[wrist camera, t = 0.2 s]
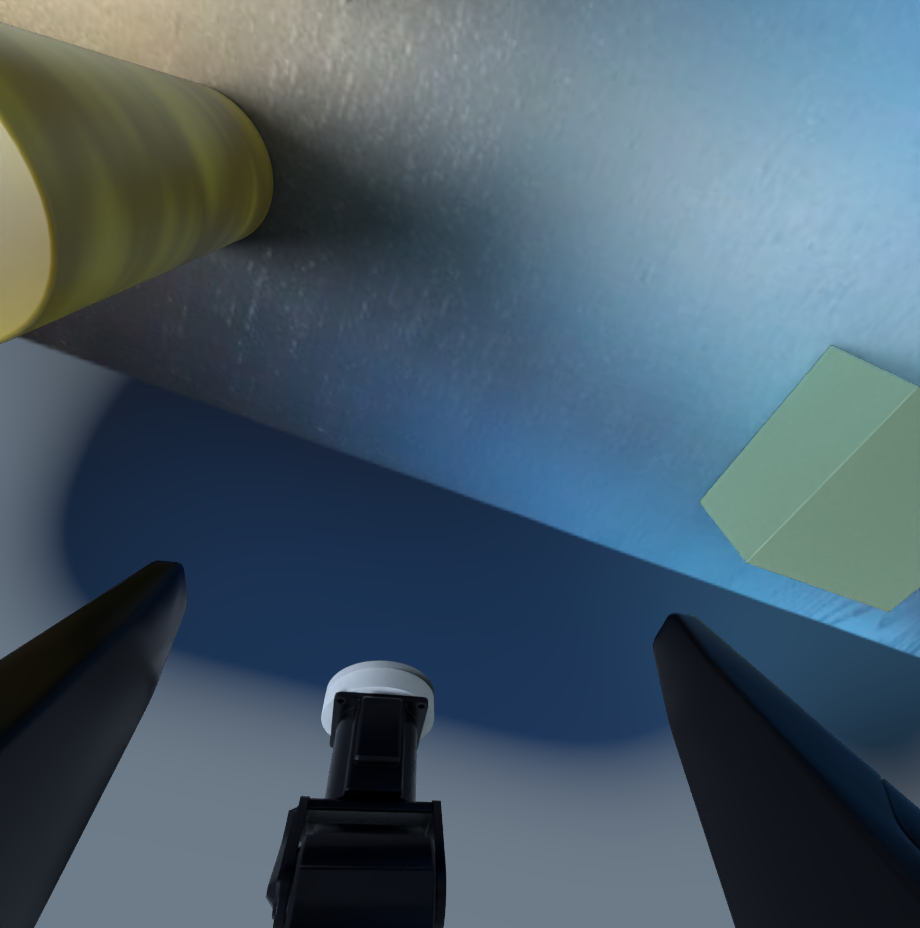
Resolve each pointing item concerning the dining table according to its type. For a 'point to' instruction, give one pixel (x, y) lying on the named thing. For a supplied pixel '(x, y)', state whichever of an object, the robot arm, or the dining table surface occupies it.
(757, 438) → the green block
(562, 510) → the dining table surface
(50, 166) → the yellow tumbler
